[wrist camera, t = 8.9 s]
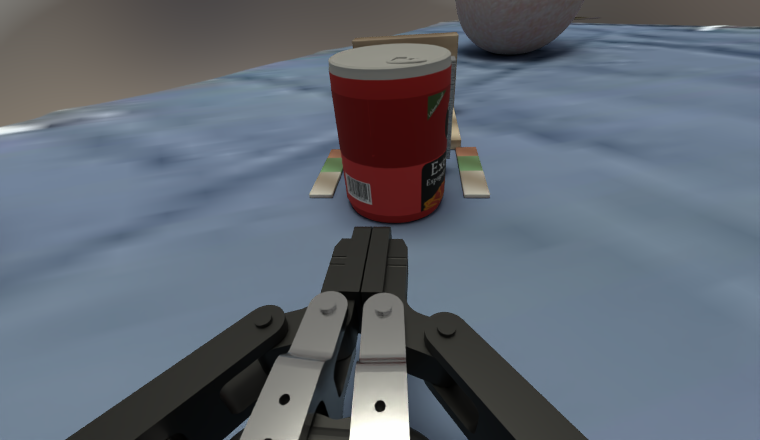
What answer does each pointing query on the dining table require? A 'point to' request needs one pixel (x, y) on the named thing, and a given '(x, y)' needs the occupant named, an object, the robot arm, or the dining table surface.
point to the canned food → (392, 127)
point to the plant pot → (515, 23)
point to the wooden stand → (466, 156)
